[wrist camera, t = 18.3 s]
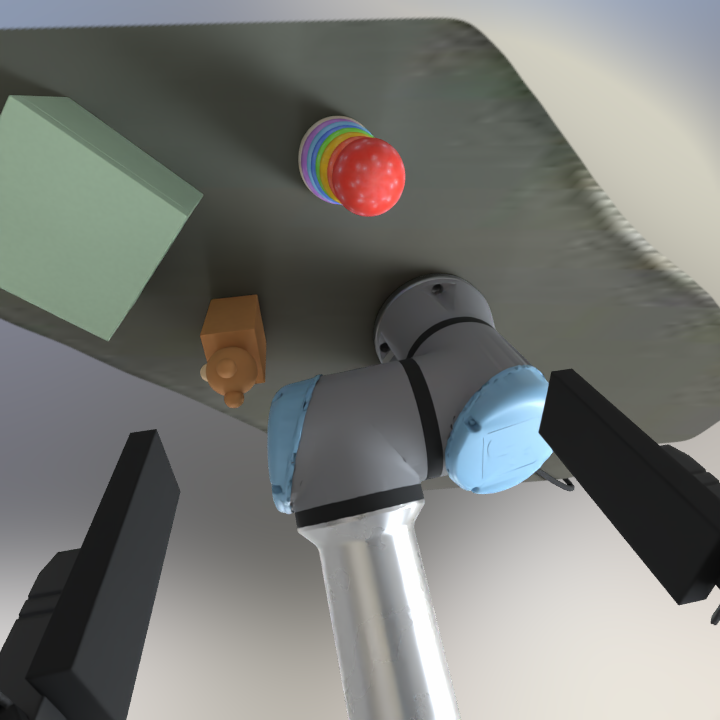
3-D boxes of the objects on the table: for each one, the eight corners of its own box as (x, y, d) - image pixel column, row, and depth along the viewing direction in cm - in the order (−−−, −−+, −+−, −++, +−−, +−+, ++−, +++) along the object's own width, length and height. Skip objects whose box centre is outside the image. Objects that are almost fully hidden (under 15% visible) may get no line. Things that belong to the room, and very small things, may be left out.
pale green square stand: (204, 194, 43) (187, 216, 35) (137, 299, 47) (107, 341, 39) (68, 96, 37) (8, 94, 29) (5, 225, 42) (-63, 256, 33)
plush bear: (257, 294, 49) (252, 354, 37) (266, 342, 53) (264, 412, 41) (207, 299, 49) (186, 363, 37) (219, 348, 52) (204, 421, 40)
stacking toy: (384, 185, 46) (444, 227, 30) (314, 211, 46) (337, 267, 30) (361, 103, 42) (417, 101, 26) (285, 132, 42) (293, 149, 26)
